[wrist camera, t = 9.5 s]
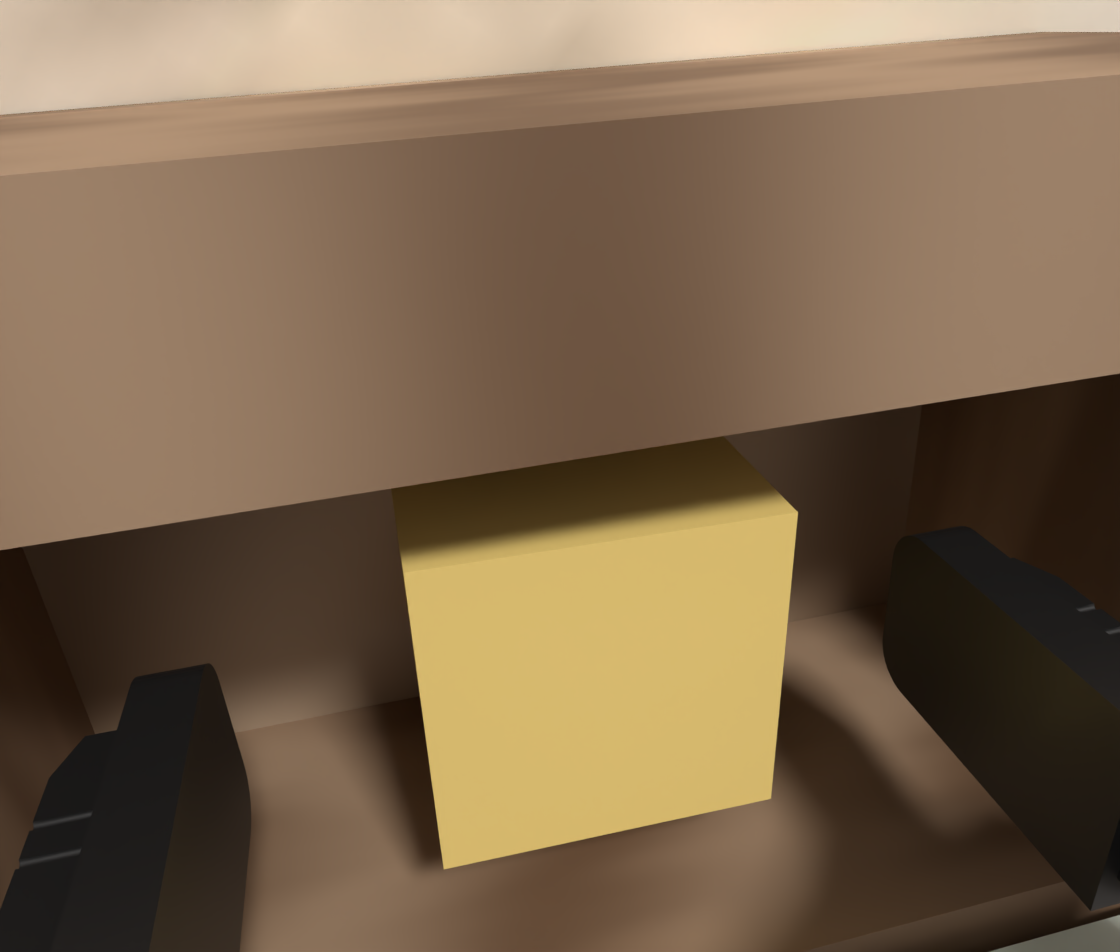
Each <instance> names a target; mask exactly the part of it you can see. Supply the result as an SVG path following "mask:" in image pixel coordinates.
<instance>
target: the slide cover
mask: <svg viewBox="0 0 1120 952" xmlns="http://www.w3.org/2000/svg"><path fill="white" fill-rule="evenodd" d="M989 952H1120V915H1118V916H1114V917H1111V918H1107V919H1104V920H1100V921H1097V922H1093V923H1089V924H1086V925H1082V926H1079V927H1075V928H1072V929H1068V930H1064V931H1061V932H1057V933H1054V934H1050V935H1047V936H1043V937H1039V938H1036V939H1032V940H1029V941H1025V942H1022V943H1018V944H1014V945H1011V946H1007V947H1004V948H1000V949H997V950H993V951H989Z"/></svg>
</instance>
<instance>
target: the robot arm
mask: <svg viewBox="0 0 1120 952" xmlns="http://www.w3.org/2000/svg"><path fill="white" fill-rule="evenodd" d="M883 654H884V659H885V663H886V666H887V669H888V672H889V674H890V676H891V678H892V680H893V682H894V684H895V685H896V687H897V688H898V690H899V691H900V692H901V693H902V694H903V696H904V697H905V698H906V699H907V700H908V701H909V703H910V704H911V705H912V706H913V707H914V708H915V709H916V711H917V712H918V713H919V714H920V715H921V716H922V718H923V719H924V720H925V721H926V722H927V723H928V724H929V726H930V727H931V728H932V729H933V730H934V731H935V733H936V734H937V735H938V736H939V737H940V738H941V739H942V741H943V742H944V743H945V744H946V745H947V746H948V747H949V749H950V750H951V751H952V752H953V753H954V754H955V756H956V757H957V758H958V759H959V760H960V761H961V762H962V764H963V765H964V766H965V767H966V768H967V769H968V771H969V772H970V773H971V774H972V775H973V776H974V777H975V779H976V780H977V781H978V782H979V783H980V784H981V786H982V787H983V788H984V789H985V790H986V791H987V792H988V794H989V795H990V796H991V797H992V798H993V799H994V800H995V802H996V803H997V804H998V805H999V806H1000V807H1001V809H1002V810H1003V811H1004V812H1005V813H1006V814H1007V815H1008V817H1009V818H1010V819H1011V820H1012V821H1013V822H1014V824H1015V825H1016V826H1017V827H1018V828H1019V829H1020V830H1021V832H1022V833H1023V834H1024V835H1025V836H1026V837H1027V838H1028V840H1029V841H1030V842H1031V843H1032V844H1033V845H1034V847H1035V848H1036V849H1037V850H1038V851H1039V852H1040V853H1041V855H1042V856H1043V857H1044V858H1045V859H1046V860H1047V862H1048V863H1049V864H1050V865H1051V866H1052V867H1053V868H1054V870H1055V871H1056V872H1057V873H1058V874H1059V875H1060V877H1061V878H1062V879H1063V880H1064V881H1065V882H1066V883H1067V885H1068V886H1069V887H1070V888H1071V889H1072V890H1073V891H1074V893H1075V894H1076V895H1077V896H1078V897H1079V898H1080V900H1081V901H1082V902H1083V903H1084V904H1085V905H1086V906H1087V908H1088V909H1089V910H1090V911H1094V910H1097V909H1101V908H1104V907H1108V906H1112V905H1115V904H1119V903H1120V622H1118V621H1117V620H1116V619H1114V618H1113V617H1112V616H1110V615H1109V614H1108V613H1106V612H1105V611H1104V610H1102V609H1098V610H1096V609H1095V606H1094V603H1093V602H1092V601H1090V600H1089V599H1088V598H1086V597H1085V596H1084V595H1082V594H1081V593H1080V592H1078V591H1077V590H1076V589H1074V588H1073V587H1072V586H1070V585H1069V584H1068V583H1066V582H1065V581H1063V580H1062V579H1061V578H1059V577H1057V576H1055V575H1053V574H1050V573H1048V572H1046V571H1044V570H1041V569H1039V568H1037V567H1034V566H1032V565H1030V564H1027V563H1025V562H1023V561H1020V560H1018V559H1016V558H1010V557H1008V556H1007V555H1006V554H1004V553H1003V552H1002V551H1000V550H999V549H998V548H997V547H995V546H994V545H993V544H991V543H990V542H989V541H987V540H986V539H985V538H984V537H982V536H981V535H980V534H978V533H977V532H976V531H974V530H973V529H971V528H969V527H966V526H957V527H951V528H946V529H940V530H935V531H930V532H924V533H919V534H914V535H908V536H904V537H902V538H901V539H900V540H899V541H898V543H897V544H896V546H895V549H894V554H893V560H892V568H891V576H890V584H889V592H888V600H887V607H886V615H885V623H884V631H883ZM250 835H251V800H250V791H249V784H248V778H247V774H246V770H245V766H244V762H243V759H242V756H241V752H240V749H239V746H238V742H237V739H236V735H235V732H234V729H233V725H232V722H231V719H230V715H229V712H228V709H227V705H226V702H225V698H224V695H223V692H222V688H221V685H220V682H219V679H218V676H217V673H216V671H215V669H214V667H213V666H212V665H211V664H210V663H207V664H202V665H197V666H191V667H186V668H180V669H175V670H170V671H164V672H159V673H153V674H148V675H143V676H137V677H135V678H134V679H133V681H132V682H131V685H130V688H129V691H128V694H127V698H126V701H125V704H124V708H123V711H122V714H121V718H120V721H119V724H118V728H117V730H114V731H109V732H104V733H99V734H93V735H88V736H85V737H84V738H83V739H82V740H81V741H80V742H79V744H78V745H77V746H76V747H75V748H74V749H73V751H72V752H71V753H70V754H69V755H68V756H67V758H66V759H65V760H64V761H63V762H62V763H61V764H60V766H59V767H58V768H57V769H56V770H55V771H54V773H53V774H52V775H51V776H50V777H49V779H48V782H47V785H46V787H45V790H44V793H43V795H42V798H41V801H40V804H39V806H38V809H37V812H36V814H35V817H34V820H33V830H32V831H29V833H28V836H27V839H26V841H25V844H24V847H23V849H22V852H21V855H20V857H19V863H20V866H19V869H15V871H14V874H13V876H12V879H11V882H10V884H9V887H8V890H7V892H6V895H5V898H4V901H3V903H2V906H1V909H0V952H240V941H241V931H242V920H243V910H244V899H245V888H246V878H247V867H248V857H249V846H250Z"/></svg>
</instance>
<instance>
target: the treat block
mask: <svg viewBox="0 0 1120 952" xmlns="http://www.w3.org/2000/svg"><path fill="white" fill-rule="evenodd" d="M391 493H392V500H393V508H394V515H395V522H396V530H397V537H398V544H399V552H400V559H401V566H402V574H403V581H404V588H405V595H406V603H407V610H408V617H409V625H410V632H411V639H412V646H413V653H414V660H415V667H416V675H417V682H418V689H419V696H420V703H421V710H422V717H423V725H424V732H425V739H426V746H427V753H428V760H429V767H430V775H431V782H432V789H433V796H434V803H435V810H436V817H437V825H438V832H439V839H440V846H441V853H442V860H443V867H444V869H449V868H453V867H458V866H462V865H467V864H472V863H476V862H481V861H486V860H490V859H495V858H500V857H504V856H509V855H513V854H518V853H523V852H527V851H532V850H537V849H541V848H546V847H550V846H555V845H560V844H564V843H569V842H574V841H578V840H583V839H587V838H592V837H597V836H601V835H606V834H611V833H615V832H620V831H624V830H629V829H634V828H638V827H643V826H648V825H652V824H657V823H661V822H666V821H671V820H675V819H680V818H685V817H689V816H694V815H699V814H703V813H708V812H712V811H717V810H722V809H726V808H731V807H736V806H740V805H745V804H749V803H754V802H759V801H763V800H768V799H771V792H772V782H773V771H774V761H775V750H776V739H777V729H778V718H779V708H780V697H781V687H782V676H783V666H784V655H785V644H786V634H787V623H788V613H789V602H790V592H791V581H792V570H793V560H794V549H795V539H796V528H797V518H798V512H797V511H796V510H795V509H794V508H793V507H792V506H791V505H790V504H789V503H788V502H787V501H786V500H785V499H784V498H783V497H782V495H781V494H780V493H779V492H778V491H777V490H776V489H775V488H774V487H773V486H772V485H771V484H770V483H769V482H768V481H767V480H766V479H765V478H764V477H763V476H762V475H761V474H760V473H759V472H758V471H757V470H756V469H755V468H754V467H753V466H752V465H751V464H750V463H749V462H748V461H747V460H746V459H745V458H744V457H743V456H742V455H741V454H740V453H739V452H738V451H737V450H736V449H735V447H734V446H733V445H732V444H731V443H730V442H729V441H728V440H727V439H726V438H725V437H724V436H721V437H714V438H708V439H702V440H695V441H689V442H683V443H676V444H670V445H664V446H657V447H651V448H645V449H638V450H632V451H626V452H619V453H613V454H607V455H600V456H594V457H588V458H581V459H575V460H569V461H562V462H556V463H550V464H543V465H537V466H531V467H524V468H518V469H512V470H505V471H499V472H493V473H486V474H480V475H474V476H467V477H461V478H455V479H448V480H442V481H436V482H429V483H423V484H417V485H410V486H404V487H398V488H391Z"/></svg>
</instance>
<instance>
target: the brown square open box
mask: <svg viewBox="0 0 1120 952" xmlns="http://www.w3.org/2000/svg"><path fill="white" fill-rule="evenodd" d="M721 436H724V437H725V438H726V439H727V440H728V441H729V442H730V443H731V444H732V445H733V446H734V447H735V449H736V450H737V451H738V452H739V453H740V454H741V455H742V456H743V457H744V458H745V459H746V460H747V461H748V462H749V463H750V464H751V465H752V466H753V467H754V468H755V469H756V470H757V471H758V472H759V473H760V474H761V475H762V476H763V477H764V478H765V479H766V480H767V481H768V482H769V483H770V484H771V485H772V486H773V487H774V488H775V489H776V490H777V491H778V492H779V493H780V494H781V495H782V497H783V498H784V499H785V500H786V501H787V502H788V503H789V504H790V505H791V506H792V507H793V508H794V509H795V510H796V511H797V512H798V518H797V528H796V539H795V549H794V560H793V570H792V581H791V592H790V602H789V613H788V623H787V634H786V644H785V655H784V666H783V676H782V687H781V697H780V708H779V718H778V729H777V739H776V750H775V761H774V771H773V782H772V792H771V799H768V800H763V801H759V802H754V803H749V804H745V805H740V806H736V807H731V808H726V809H722V810H717V811H712V812H708V813H703V814H699V815H694V816H689V817H685V818H680V819H675V820H671V821H666V822H661V823H657V824H652V825H648V826H643V827H638V828H634V829H629V830H624V831H620V832H615V833H611V834H606V835H601V836H597V837H592V838H587V839H583V840H578V841H574V842H569V843H564V844H560V845H555V846H550V847H546V848H541V849H537V850H532V851H527V852H523V853H518V854H513V855H509V856H504V857H500V858H495V859H490V860H486V861H481V862H476V863H472V864H467V865H462V866H458V867H453V868H449V869H444V867H443V860H442V853H441V846H440V839H439V832H438V825H437V817H436V810H435V803H434V796H433V789H432V782H431V775H430V767H429V760H428V753H427V746H426V739H425V732H424V725H423V717H422V710H421V703H420V696H419V689H418V682H417V675H416V667H415V660H414V653H413V646H412V639H411V632H410V625H409V617H408V610H407V603H406V595H405V588H404V581H403V574H402V566H401V559H400V552H399V544H398V537H397V530H396V522H395V515H394V508H393V500H392V493H391V488H398V487H404V486H410V485H417V484H423V483H429V482H436V481H442V480H448V479H455V478H461V477H467V476H474V475H480V474H486V473H493V472H499V471H505V470H512V469H518V468H524V467H531V466H537V465H543V464H550V463H556V462H562V461H569V460H575V459H581V458H588V457H594V456H600V455H607V454H613V453H619V452H626V451H632V450H638V449H645V448H651V447H657V446H664V445H670V444H676V443H683V442H689V441H695V440H702V439H708V438H714V437H721ZM957 526H966V527H969V528H971V529H973V530H974V531H976V532H977V533H978V534H980V535H981V536H982V537H984V538H985V539H986V540H987V541H989V542H990V543H991V544H993V545H994V546H995V547H997V548H998V549H999V550H1000V551H1002V552H1003V553H1004V554H1006V555H1007V556H1008V557H1010V558H1016V559H1018V560H1020V561H1023V562H1025V563H1027V564H1030V565H1032V566H1034V567H1037V568H1039V569H1041V570H1044V571H1046V572H1048V573H1050V574H1053V575H1055V576H1057V577H1059V578H1061V579H1062V580H1063V581H1065V582H1066V583H1068V584H1069V585H1070V586H1072V587H1073V588H1074V589H1076V590H1077V591H1078V592H1080V593H1081V594H1082V595H1084V596H1085V597H1086V598H1088V599H1089V600H1090V601H1092V602H1093V603H1094V606H1095V609H1096V610H1098V609H1102V610H1104V611H1105V612H1106V613H1108V614H1109V615H1110V616H1112V617H1113V618H1114V619H1116V620H1117V621H1118V622H1120V32H1037V33H1024V34H1011V35H999V36H986V37H974V38H961V39H949V40H936V41H924V42H911V43H898V44H886V45H873V46H861V47H848V48H836V49H823V50H811V51H798V52H786V53H773V54H760V55H748V56H735V57H723V58H710V59H698V60H685V61H673V62H660V63H647V64H635V65H622V66H610V67H597V68H585V69H572V70H560V71H547V72H535V73H522V74H509V75H497V76H484V77H472V78H459V79H447V80H434V81H422V82H409V83H396V84H384V85H371V86H359V87H346V88H334V89H321V90H309V91H296V92H284V93H271V94H258V95H246V96H233V97H221V98H208V99H196V100H183V101H171V102H158V103H145V104H133V105H120V106H108V107H95V108H83V109H70V110H58V111H45V112H33V113H20V114H7V115H0V909H1V906H2V903H3V901H4V898H5V895H6V892H7V890H8V887H9V884H10V882H11V879H12V876H13V874H14V871H15V869H19V866H20V863H19V857H20V855H21V852H22V849H23V847H24V844H25V841H26V839H27V836H28V833H29V831H32V830H33V820H34V817H35V814H36V812H37V809H38V806H39V804H40V801H41V798H42V795H43V793H44V790H45V787H46V785H47V782H48V779H49V777H50V776H51V775H52V774H53V773H54V771H55V770H56V769H57V768H58V767H59V766H60V764H61V763H62V762H63V761H64V760H65V759H66V758H67V756H68V755H69V754H70V753H71V752H72V751H73V749H74V748H75V747H76V746H77V745H78V744H79V742H80V741H81V740H82V739H83V738H84V737H85V736H88V735H93V734H99V733H104V732H109V731H114V730H117V728H118V724H119V721H120V718H121V714H122V711H123V708H124V704H125V701H126V698H127V694H128V691H129V688H130V685H131V682H132V681H133V679H134V678H135V677H137V676H143V675H148V674H153V673H159V672H164V671H170V670H175V669H180V668H186V667H191V666H197V665H202V664H207V663H210V664H211V665H212V666H213V667H214V669H215V671H216V673H217V676H218V679H219V682H220V685H221V688H222V692H223V695H224V698H225V702H226V705H227V709H228V712H229V715H230V719H231V722H232V725H233V729H234V732H235V735H236V739H237V742H238V746H239V749H240V752H241V756H242V759H243V762H244V766H245V770H246V774H247V778H248V784H249V791H250V800H251V835H250V846H249V857H248V867H247V878H246V888H245V899H244V910H243V920H242V931H241V941H240V952H989V951H993V950H997V949H1000V948H1004V947H1007V946H1011V945H1014V944H1018V943H1022V942H1025V941H1029V940H1032V939H1036V938H1039V937H1043V936H1047V935H1050V934H1054V933H1057V932H1061V931H1064V930H1068V929H1072V928H1075V927H1079V926H1082V925H1086V924H1089V923H1093V922H1097V921H1100V920H1104V919H1107V918H1111V917H1114V916H1118V915H1120V903H1119V904H1115V905H1112V906H1108V907H1104V908H1101V909H1097V910H1094V911H1090V910H1089V909H1088V908H1087V906H1086V905H1085V904H1084V903H1083V902H1082V901H1081V900H1080V898H1079V897H1078V896H1077V895H1076V894H1075V893H1074V891H1073V890H1072V889H1071V888H1070V887H1069V886H1068V885H1067V883H1066V882H1065V881H1064V880H1063V879H1062V878H1061V877H1060V875H1059V874H1058V873H1057V872H1056V871H1055V870H1054V868H1053V867H1052V866H1051V865H1050V864H1049V863H1048V862H1047V860H1046V859H1045V858H1044V857H1043V856H1042V855H1041V853H1040V852H1039V851H1038V850H1037V849H1036V848H1035V847H1034V845H1033V844H1032V843H1031V842H1030V841H1029V840H1028V838H1027V837H1026V836H1025V835H1024V834H1023V833H1022V832H1021V830H1020V829H1019V828H1018V827H1017V826H1016V825H1015V824H1014V822H1013V821H1012V820H1011V819H1010V818H1009V817H1008V815H1007V814H1006V813H1005V812H1004V811H1003V810H1002V809H1001V807H1000V806H999V805H998V804H997V803H996V802H995V800H994V799H993V798H992V797H991V796H990V795H989V794H988V792H987V791H986V790H985V789H984V788H983V787H982V786H981V784H980V783H979V782H978V781H977V780H976V779H975V777H974V776H973V775H972V774H971V773H970V772H969V771H968V769H967V768H966V767H965V766H964V765H963V764H962V762H961V761H960V760H959V759H958V758H957V757H956V756H955V754H954V753H953V752H952V751H951V750H950V749H949V747H948V746H947V745H946V744H945V743H944V742H943V741H942V739H941V738H940V737H939V736H938V735H937V734H936V733H935V731H934V730H933V729H932V728H931V727H930V726H929V724H928V723H927V722H926V721H925V720H924V719H923V718H922V716H921V715H920V714H919V713H918V712H917V711H916V709H915V708H914V707H913V706H912V705H911V704H910V703H909V701H908V700H907V699H906V698H905V697H904V696H903V694H902V693H901V692H900V691H899V690H898V688H897V687H896V685H895V684H894V682H893V680H892V678H891V676H890V674H889V672H888V669H887V666H886V663H885V659H884V654H883V631H884V623H885V615H886V607H887V600H888V592H889V584H890V576H891V568H892V560H893V554H894V549H895V546H896V544H897V543H898V541H899V540H900V539H901V538H902V537H904V536H908V535H914V534H919V533H924V532H930V531H935V530H940V529H946V528H951V527H957Z"/></svg>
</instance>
